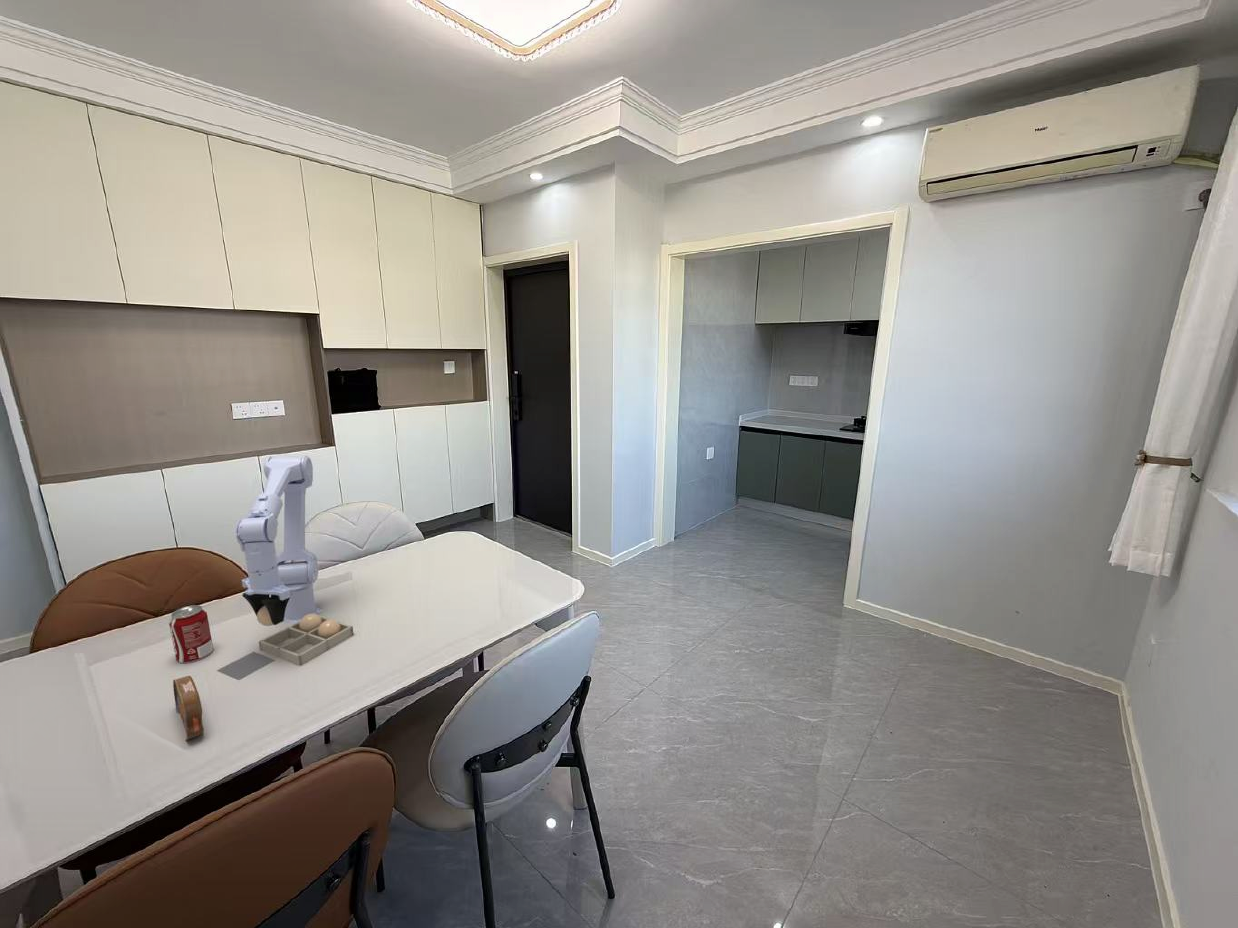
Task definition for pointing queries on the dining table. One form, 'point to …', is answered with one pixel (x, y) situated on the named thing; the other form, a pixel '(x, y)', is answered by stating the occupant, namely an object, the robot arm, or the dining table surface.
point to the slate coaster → (245, 665)
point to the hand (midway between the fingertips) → (270, 620)
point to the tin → (188, 706)
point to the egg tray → (302, 642)
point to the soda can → (190, 634)
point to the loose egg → (264, 617)
